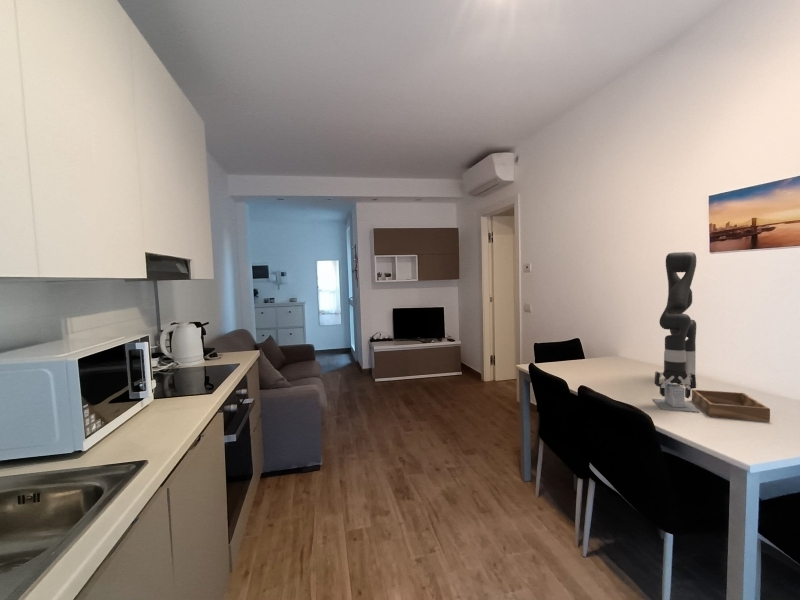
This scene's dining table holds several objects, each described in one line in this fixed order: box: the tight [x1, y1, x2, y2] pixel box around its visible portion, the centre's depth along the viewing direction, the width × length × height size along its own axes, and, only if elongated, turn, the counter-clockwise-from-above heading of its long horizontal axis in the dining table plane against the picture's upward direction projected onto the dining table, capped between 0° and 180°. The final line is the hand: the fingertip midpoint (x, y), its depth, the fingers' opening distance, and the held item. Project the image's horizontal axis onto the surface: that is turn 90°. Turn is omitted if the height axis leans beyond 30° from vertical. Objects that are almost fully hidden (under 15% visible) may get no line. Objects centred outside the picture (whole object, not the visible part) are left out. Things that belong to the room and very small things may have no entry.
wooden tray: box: [691, 389, 771, 423], centre depth 149 cm, size 20×18×5 cm
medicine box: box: [663, 382, 686, 408], centre depth 156 cm, size 8×4×9 cm, turn 166°
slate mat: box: [652, 398, 700, 414], centre depth 156 cm, size 13×13×1 cm
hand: (674, 396), depth 156 cm, fingers open, 8 cm apart
